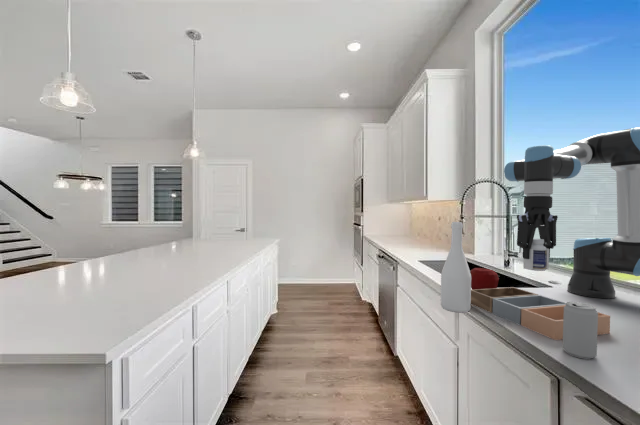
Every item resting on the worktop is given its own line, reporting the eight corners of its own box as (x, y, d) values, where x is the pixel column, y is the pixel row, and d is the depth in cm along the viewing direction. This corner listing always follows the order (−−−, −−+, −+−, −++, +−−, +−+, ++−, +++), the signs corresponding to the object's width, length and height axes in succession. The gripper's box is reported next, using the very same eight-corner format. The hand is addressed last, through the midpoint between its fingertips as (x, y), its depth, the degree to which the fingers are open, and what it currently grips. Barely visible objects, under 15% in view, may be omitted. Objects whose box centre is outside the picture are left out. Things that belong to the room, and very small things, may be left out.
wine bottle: (472, 315, 104) (474, 223, 103) (441, 311, 107) (442, 222, 106) (468, 306, 113) (470, 221, 112) (440, 303, 116) (441, 221, 115)
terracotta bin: (571, 320, 100) (571, 304, 100) (609, 333, 90) (610, 315, 90) (521, 325, 95) (521, 308, 95) (555, 340, 85) (555, 321, 85)
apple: (504, 299, 123) (505, 268, 122) (479, 300, 121) (480, 269, 121) (485, 291, 133) (486, 263, 133) (462, 292, 132) (462, 264, 132)
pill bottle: (549, 271, 98) (550, 240, 98) (529, 270, 99) (530, 239, 99) (541, 268, 103) (541, 238, 103) (522, 267, 105) (523, 237, 104)
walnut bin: (512, 300, 121) (513, 287, 121) (538, 308, 111) (538, 294, 111) (469, 303, 116) (469, 289, 116) (491, 312, 106) (491, 298, 106)
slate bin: (539, 309, 111) (539, 294, 111) (570, 319, 100) (570, 304, 100) (492, 313, 106) (492, 298, 106) (519, 325, 96) (520, 308, 95)
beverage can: (555, 348, 80) (557, 300, 80) (579, 347, 80) (581, 300, 80) (578, 360, 73) (580, 309, 73) (604, 360, 74) (605, 308, 74)
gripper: (550, 196, 107) (548, 265, 107) (504, 195, 102) (502, 267, 103) (572, 195, 99) (570, 270, 100) (524, 194, 95) (522, 272, 95)
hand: (535, 268), depth 101 cm, fingers closed on pill bottle, 5 cm apart
